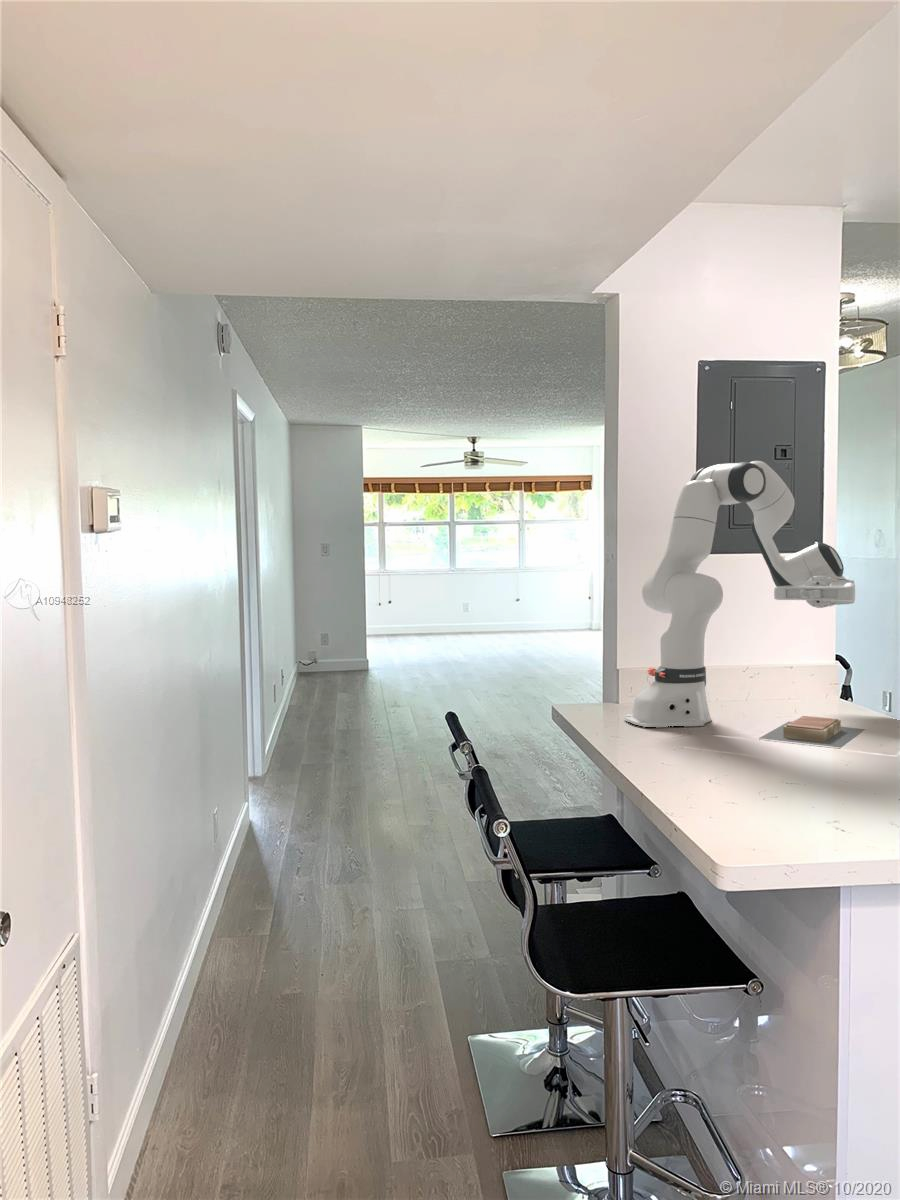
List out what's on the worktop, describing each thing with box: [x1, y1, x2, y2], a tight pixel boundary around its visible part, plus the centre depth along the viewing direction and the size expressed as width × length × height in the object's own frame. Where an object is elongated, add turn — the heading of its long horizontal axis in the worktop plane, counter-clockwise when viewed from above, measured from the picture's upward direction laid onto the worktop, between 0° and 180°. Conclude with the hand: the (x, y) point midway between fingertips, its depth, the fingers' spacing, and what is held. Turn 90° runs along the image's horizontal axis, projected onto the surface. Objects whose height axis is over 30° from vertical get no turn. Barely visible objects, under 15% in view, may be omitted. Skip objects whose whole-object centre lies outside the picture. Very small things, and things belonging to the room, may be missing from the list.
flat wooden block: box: [783, 715, 842, 742], centre depth 199 cm, size 3×9×14 cm
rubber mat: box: [758, 721, 866, 750], centre depth 200 cm, size 22×18×1 cm
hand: (806, 594), depth 222 cm, fingers closed
